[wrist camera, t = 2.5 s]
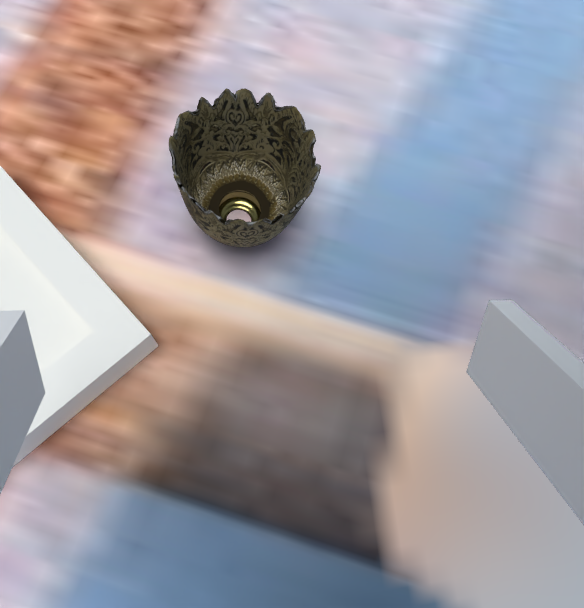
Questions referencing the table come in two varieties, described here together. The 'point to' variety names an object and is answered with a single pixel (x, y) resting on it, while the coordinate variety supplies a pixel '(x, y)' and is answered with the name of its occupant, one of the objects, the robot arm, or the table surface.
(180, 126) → the filigree tulip shade
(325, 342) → the table surface
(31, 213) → the seat plinth
